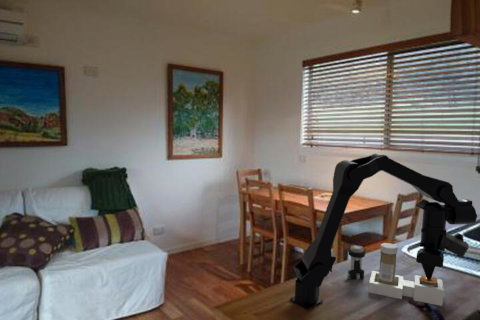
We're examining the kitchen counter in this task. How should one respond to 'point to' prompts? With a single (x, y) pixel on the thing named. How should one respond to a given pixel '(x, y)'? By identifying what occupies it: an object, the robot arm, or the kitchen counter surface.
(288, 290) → the kitchen counter surface
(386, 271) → the sprinkles bottle
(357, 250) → the push button
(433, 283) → the copper and black cylinder
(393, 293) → the housing
